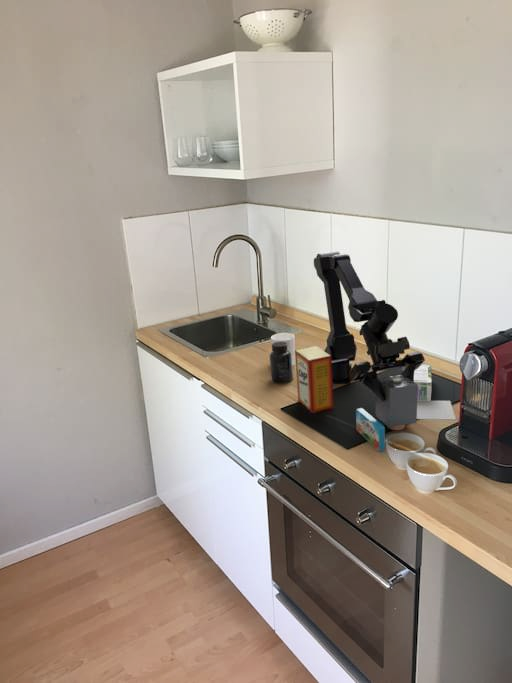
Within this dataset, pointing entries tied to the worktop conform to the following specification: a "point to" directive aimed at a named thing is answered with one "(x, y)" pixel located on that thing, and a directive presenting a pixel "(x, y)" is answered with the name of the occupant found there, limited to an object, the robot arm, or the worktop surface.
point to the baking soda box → (314, 378)
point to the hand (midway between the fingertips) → (398, 397)
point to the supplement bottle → (281, 363)
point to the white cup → (288, 339)
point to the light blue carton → (370, 429)
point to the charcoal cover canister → (397, 401)
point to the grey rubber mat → (435, 410)
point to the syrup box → (423, 382)
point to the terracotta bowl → (397, 427)
